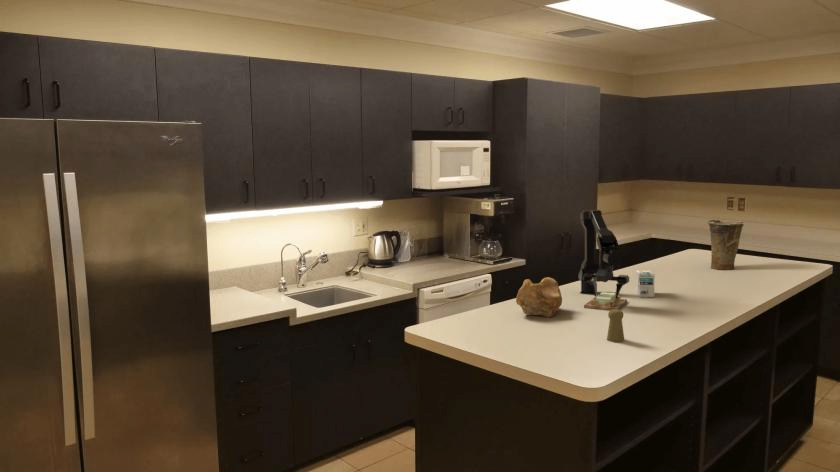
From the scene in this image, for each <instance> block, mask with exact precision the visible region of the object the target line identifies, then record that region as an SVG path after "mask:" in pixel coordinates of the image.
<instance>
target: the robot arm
mask: <svg viewBox="0 0 840 472" xmlns="http://www.w3.org/2000/svg"><path fill="white" fill-rule="evenodd" d="M579 220H580V224H581V225H582V227H583V230H584V260H583V261H582V263H581V265H580V266H581V267H580V268H579V269H580V270H579V272H578V274H577V275H578V280H579V281H581V282H580V291H579V293H580V294H587V295H594V298H595V297H597V293H598V283H599V282H603V283H607V282H608V281H614V282H617V283H616V285H615V286H616V288H615V289H616V290H615V293H616V298H617V297H618V295H619V294H620V292H621V289H622V288H623V287H624V286H625V285H626V284H629V282H630V277H629V275H627V274H619V275H618V276H614V267H617V266H619V265H620V264H621V261H622V258H621V255H620V254H619V253H617V251H619V247H620V246H619V243H618V242H619V241H618V239H617V237H616V236H615V234H614V232H613V231H612V230H610V229H609V228H608V227H607V225H606V222H605V219H604V218H603V214H602V210H601V209H591V210H582V212H580V214H579ZM595 233H597V237H596V234H595ZM595 242H596V243H595ZM596 245H597V247H598V251H599V257H598V259H599V261H598V262H599V264H598V262H597V261H596V247H595V246H596Z"/></svg>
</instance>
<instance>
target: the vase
mask: <svg viewBox="0 0 840 472" xmlns="http://www.w3.org/2000/svg"><path fill="white" fill-rule="evenodd" d="M707 224H708V225H709V232H710V246H711V248H710V249H711V254H710V255H711V260H710V261H711V263H710V269H713V270H716V271H717V270H719V271H733V270H734V269H735V262H736V261H735V260H736V257H737V253H738V250H739V245H740V239H741V234H742V231H743V227H744V226H745V223H744V221H739V220H738V221H721V220H719V219H717V220H716V219H710V220H707Z"/></svg>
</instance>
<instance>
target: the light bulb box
mask: <svg viewBox="0 0 840 472" xmlns="http://www.w3.org/2000/svg"><path fill="white" fill-rule="evenodd" d="M636 294H637V295H638V296H639V298H655V274H654V273H653V271H652V270H640V269H639V270H636Z"/></svg>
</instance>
